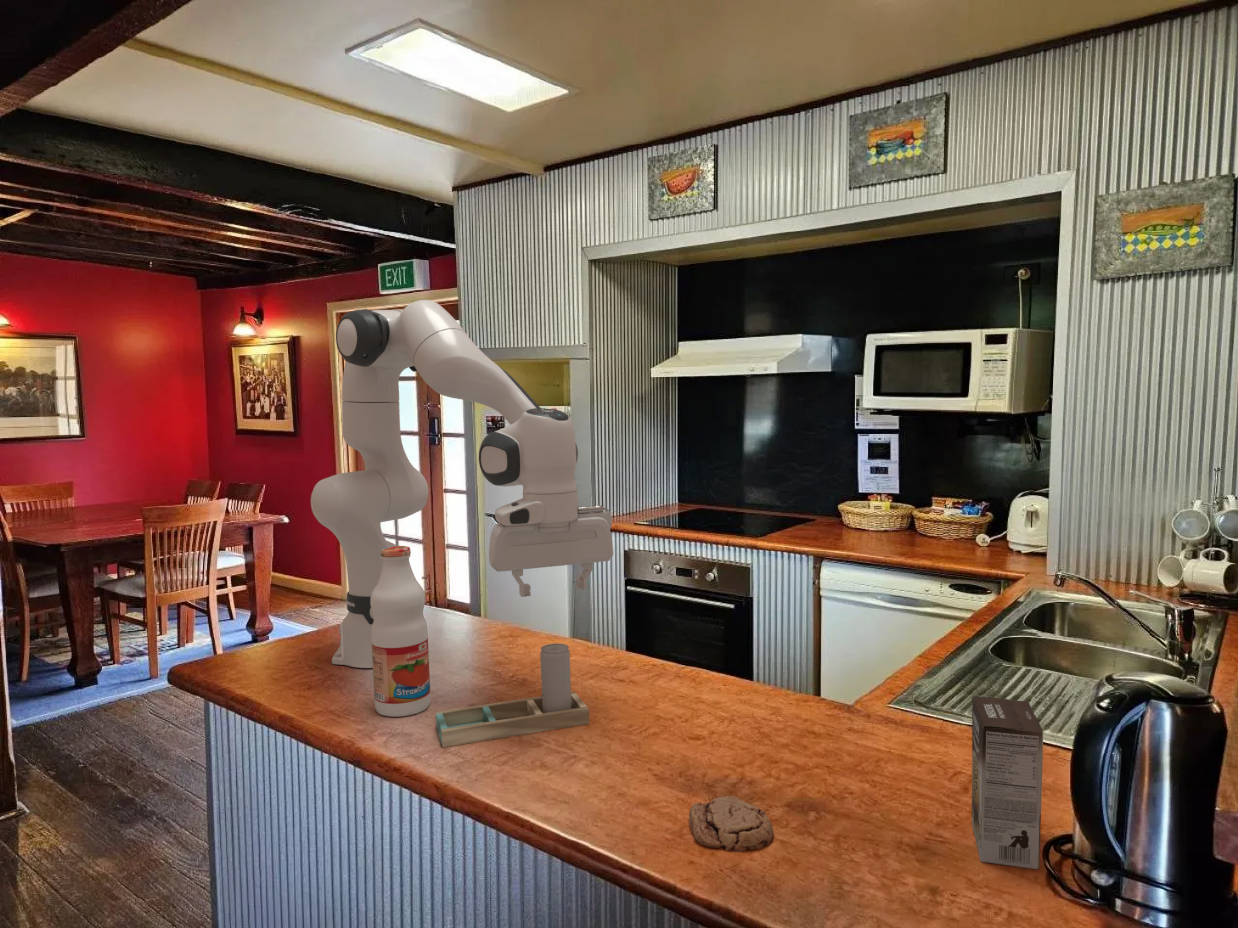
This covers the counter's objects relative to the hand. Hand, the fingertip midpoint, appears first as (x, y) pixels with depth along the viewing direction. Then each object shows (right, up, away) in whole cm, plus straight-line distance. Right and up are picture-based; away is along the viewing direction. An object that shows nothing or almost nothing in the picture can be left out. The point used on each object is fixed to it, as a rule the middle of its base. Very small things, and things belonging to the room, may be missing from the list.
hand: (553, 592), depth 136 cm
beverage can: (0, -21, +2) cm, 21 cm away
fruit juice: (-27, -21, +8) cm, 35 cm away
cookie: (+24, -24, -34) cm, 48 cm away
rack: (-7, -21, -1) cm, 22 cm away
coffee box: (+56, -24, -39) cm, 72 cm away
